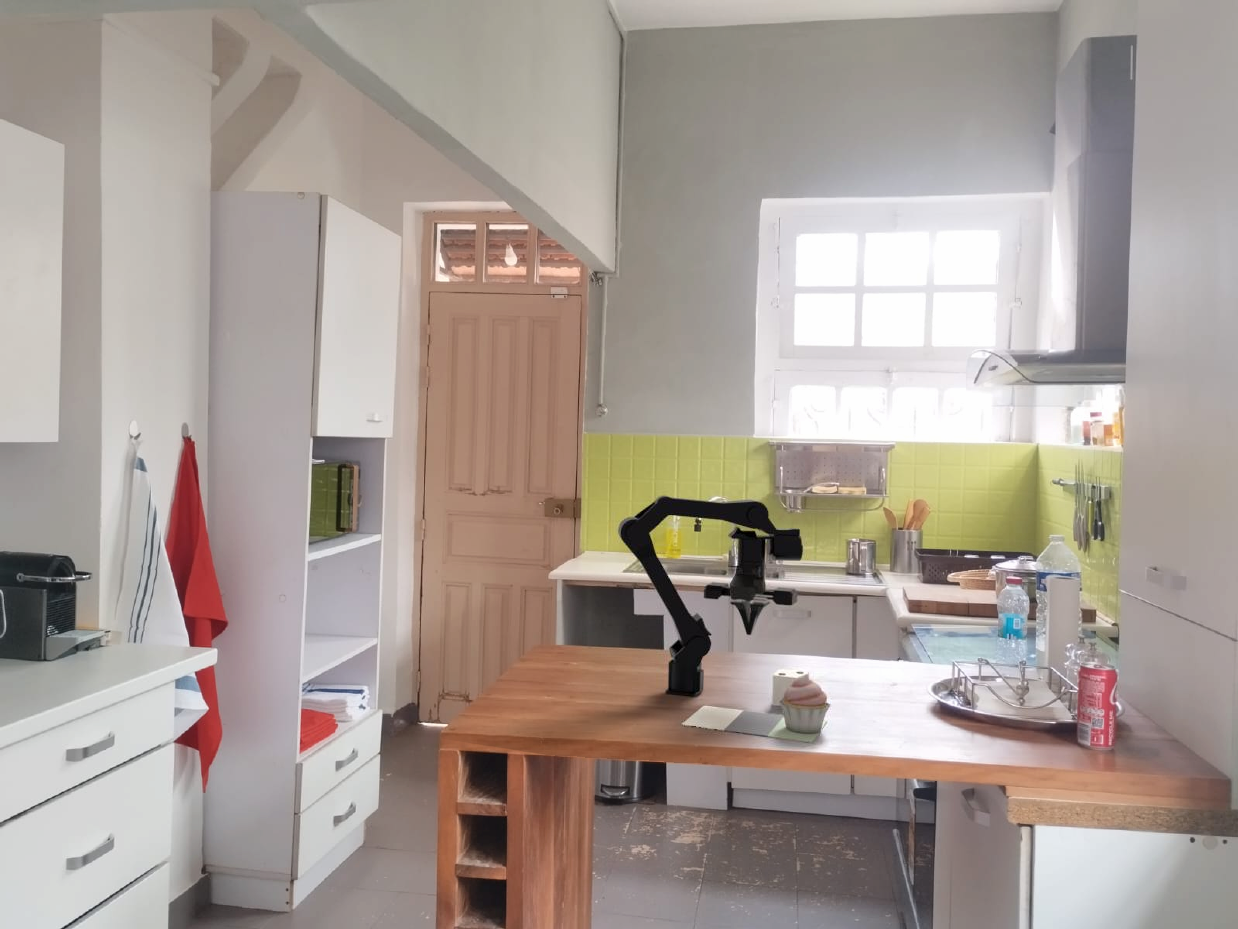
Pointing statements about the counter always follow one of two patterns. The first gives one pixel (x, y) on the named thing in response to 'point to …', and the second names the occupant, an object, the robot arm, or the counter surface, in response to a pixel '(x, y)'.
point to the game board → (747, 723)
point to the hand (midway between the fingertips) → (749, 634)
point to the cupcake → (804, 706)
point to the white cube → (783, 683)
